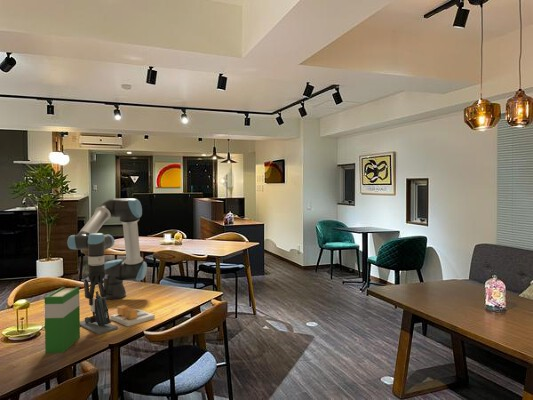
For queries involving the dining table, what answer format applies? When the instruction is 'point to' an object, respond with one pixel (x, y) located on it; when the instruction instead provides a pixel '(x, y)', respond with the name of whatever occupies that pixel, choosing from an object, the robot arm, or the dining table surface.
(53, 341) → the hardback book
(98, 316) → the gun
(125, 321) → the light grey tray
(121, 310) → the orange wooden block
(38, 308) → the dining table surface
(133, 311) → the orange block
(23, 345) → the dining table surface
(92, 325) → the mat
